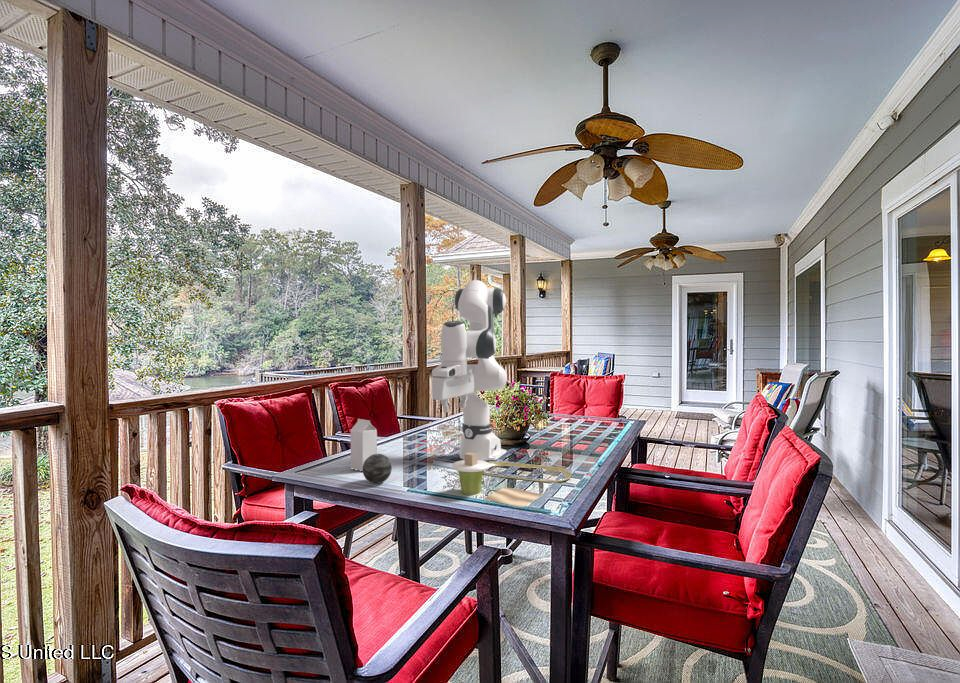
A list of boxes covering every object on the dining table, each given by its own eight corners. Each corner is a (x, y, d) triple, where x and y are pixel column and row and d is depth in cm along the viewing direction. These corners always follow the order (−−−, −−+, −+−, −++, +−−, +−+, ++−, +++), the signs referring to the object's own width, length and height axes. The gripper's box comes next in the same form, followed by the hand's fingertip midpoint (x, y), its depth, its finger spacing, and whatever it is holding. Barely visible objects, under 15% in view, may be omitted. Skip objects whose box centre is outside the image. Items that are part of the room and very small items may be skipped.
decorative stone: (382, 476, 177) (381, 449, 176) (397, 482, 169) (397, 454, 169) (357, 482, 170) (357, 454, 170) (372, 489, 162) (372, 459, 162)
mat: (505, 488, 162) (505, 486, 162) (543, 496, 155) (543, 494, 155) (482, 500, 151) (482, 498, 151) (522, 509, 143) (522, 507, 143)
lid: (466, 460, 166) (466, 447, 166) (496, 465, 159) (496, 452, 159) (445, 468, 156) (444, 455, 156) (476, 474, 149) (475, 460, 149)
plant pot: (460, 499, 152) (460, 471, 152) (453, 490, 161) (453, 464, 161) (488, 496, 154) (488, 469, 154) (480, 487, 164) (480, 462, 163)
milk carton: (362, 472, 182) (362, 421, 182) (350, 469, 186) (350, 420, 186) (377, 468, 188) (377, 419, 188) (365, 465, 192) (365, 417, 192)
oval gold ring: (565, 487, 165) (565, 483, 165) (470, 476, 178) (470, 472, 178) (576, 473, 182) (576, 469, 182) (489, 464, 195) (489, 460, 195)
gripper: (463, 366, 175) (463, 404, 175) (428, 371, 157) (429, 413, 158) (478, 366, 171) (478, 405, 172) (444, 372, 154) (444, 415, 155)
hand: (454, 409), depth 165 cm, fingers open, 8 cm apart
